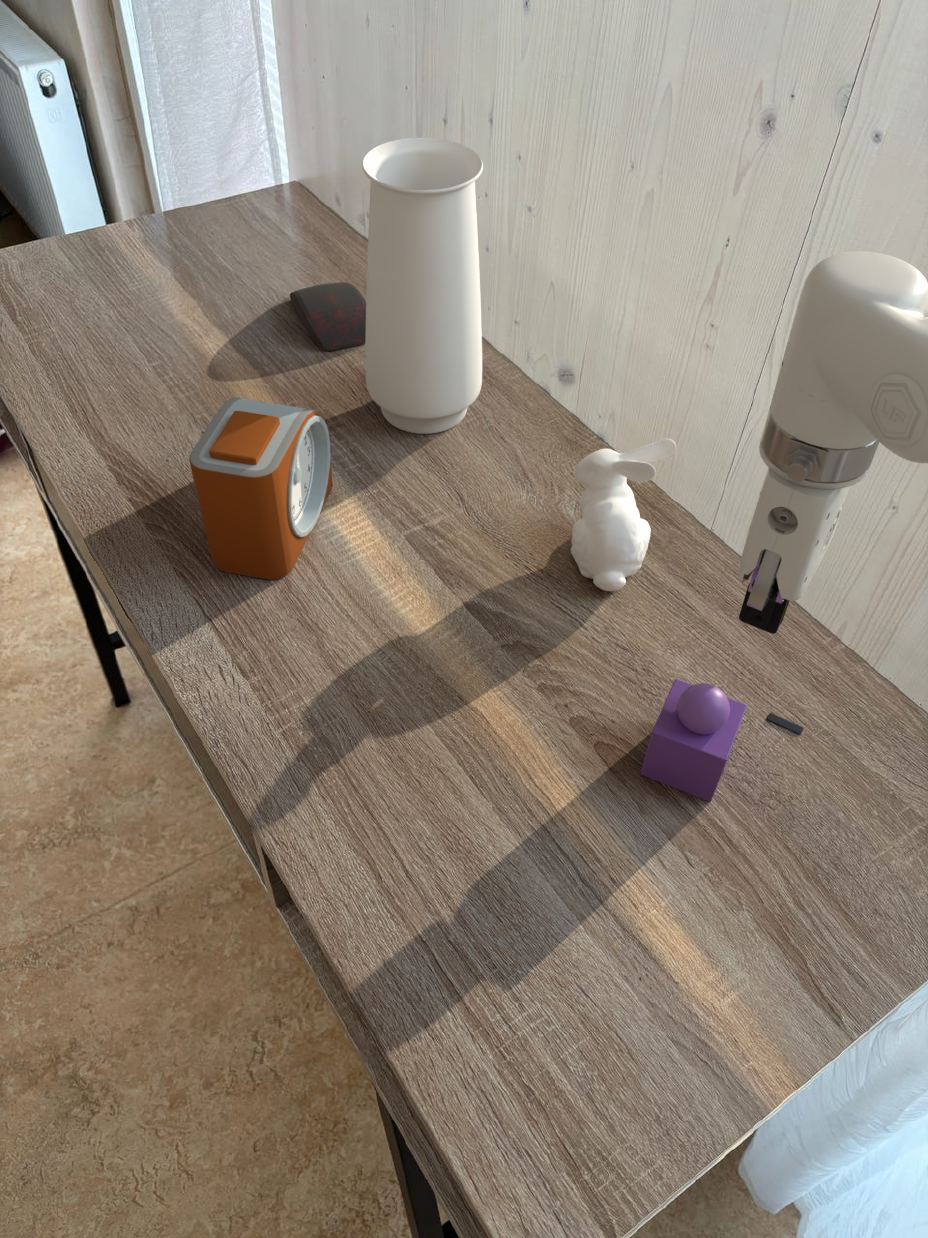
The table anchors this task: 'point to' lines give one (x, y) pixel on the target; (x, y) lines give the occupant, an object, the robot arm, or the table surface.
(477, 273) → the vase
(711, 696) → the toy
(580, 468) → the rabbit
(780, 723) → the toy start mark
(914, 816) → the table surface
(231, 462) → the alarm clock
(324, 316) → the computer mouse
